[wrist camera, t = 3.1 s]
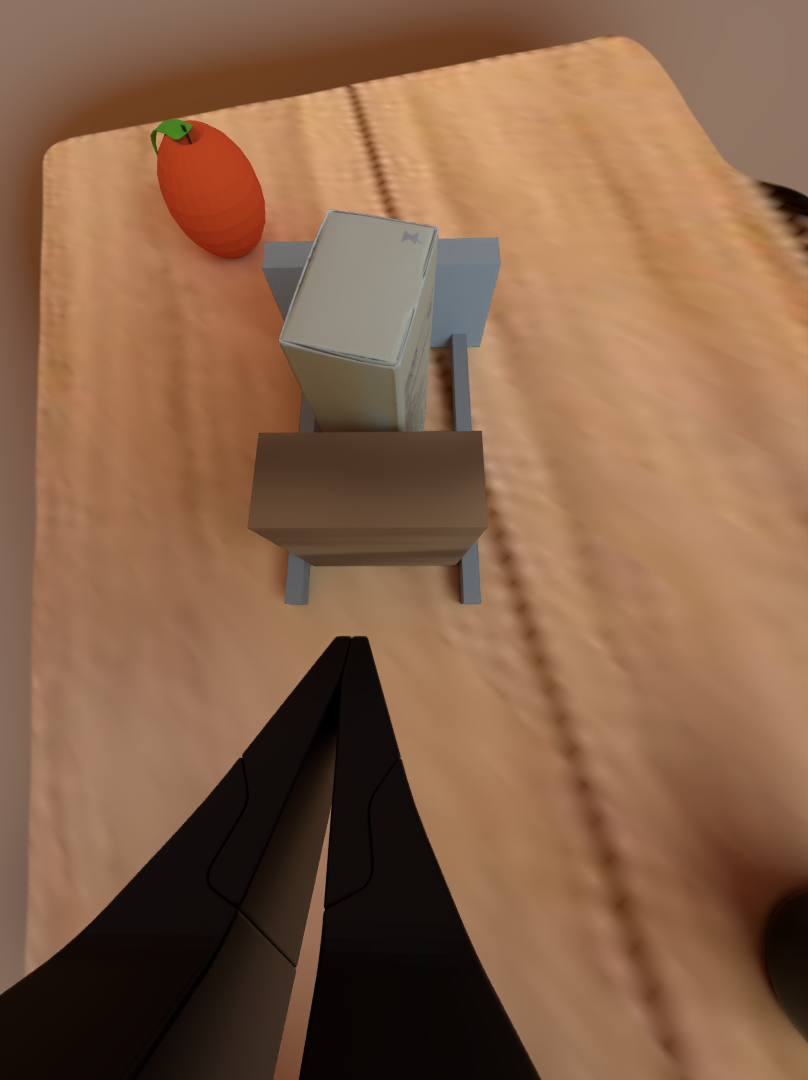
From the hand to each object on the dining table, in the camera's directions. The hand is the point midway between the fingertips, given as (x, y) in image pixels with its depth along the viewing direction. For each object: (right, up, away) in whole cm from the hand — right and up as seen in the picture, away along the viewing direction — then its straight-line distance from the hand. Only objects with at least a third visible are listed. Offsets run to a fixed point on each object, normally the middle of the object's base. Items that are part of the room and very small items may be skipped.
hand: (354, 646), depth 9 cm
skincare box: (0, +9, +14) cm, 17 cm away
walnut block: (0, +3, +13) cm, 13 cm away
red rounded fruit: (-13, +28, +19) cm, 36 cm away
